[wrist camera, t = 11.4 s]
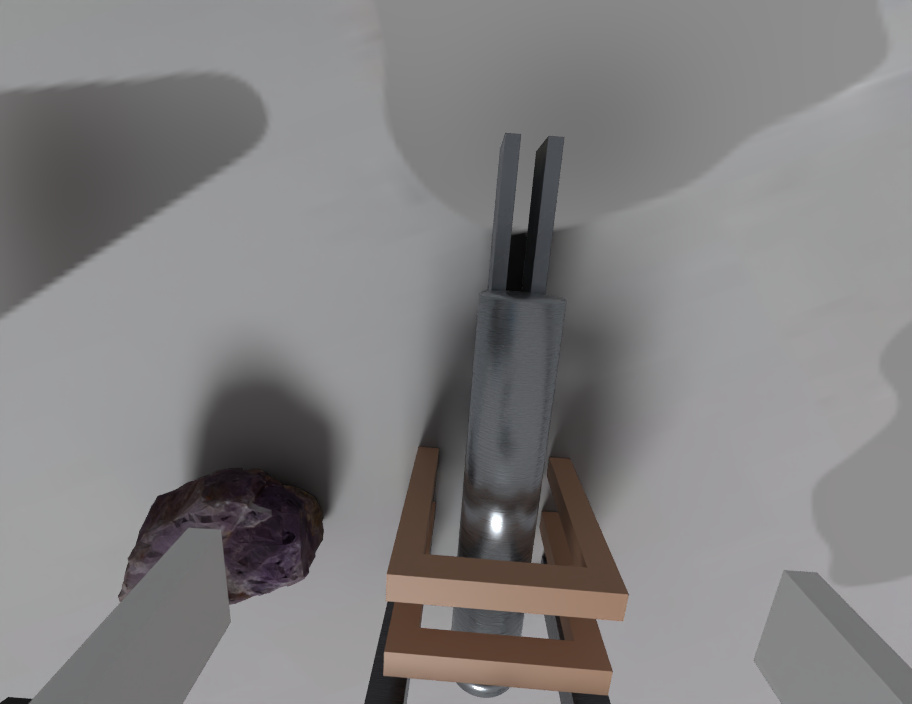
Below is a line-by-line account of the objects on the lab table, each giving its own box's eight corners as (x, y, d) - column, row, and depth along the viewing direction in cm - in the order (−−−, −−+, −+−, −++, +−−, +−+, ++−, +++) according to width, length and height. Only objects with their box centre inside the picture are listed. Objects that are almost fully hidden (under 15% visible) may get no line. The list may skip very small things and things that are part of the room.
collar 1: (418, 446, 32) (386, 574, 20) (570, 458, 32) (628, 594, 20) (417, 465, 33) (385, 601, 21) (567, 477, 33) (623, 621, 21)
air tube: (478, 288, 25) (480, 299, 21) (557, 294, 25) (575, 306, 21) (450, 631, 31) (447, 694, 27) (512, 636, 31) (519, 700, 27)
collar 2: (415, 500, 34) (384, 651, 21) (561, 512, 33) (612, 671, 21) (414, 518, 34) (383, 675, 22) (559, 529, 34) (607, 695, 22)
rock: (335, 533, 36) (303, 421, 33) (317, 622, 28) (272, 484, 25) (188, 567, 35) (141, 455, 32) (124, 669, 27) (55, 530, 24)
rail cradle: (500, 149, 27) (505, 133, 23) (549, 152, 27) (564, 137, 23) (461, 584, 35) (460, 634, 31) (499, 587, 35) (503, 637, 31)
